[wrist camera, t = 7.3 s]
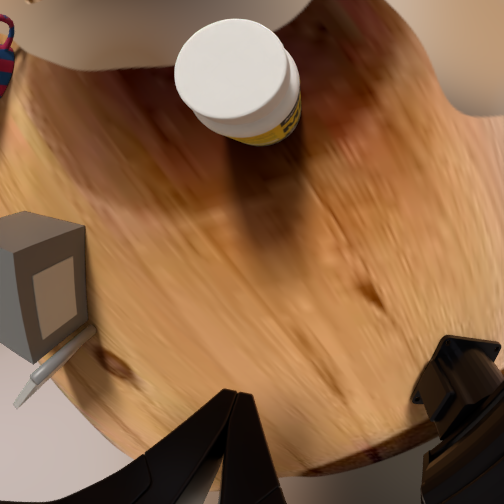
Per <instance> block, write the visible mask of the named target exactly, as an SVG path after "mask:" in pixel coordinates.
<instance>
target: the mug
mask: <svg viewBox="0 0 504 504" xmlns="http://www.w3.org/2000/svg"><path fill="white" fill-rule="evenodd" d="M0 21H2V22H5V23H7V24H8V25H9V28H10V30H9V35H8V38H7V40H6V42H5V43H4V44H3V45H1V44H0V98H1V96H2V95H3V93H4V92H5V90H6V88H7V86H8V83H9V81H10V78H11V75H12V71H13V66H14V52H13V49H12V48H11V47H10V46H11V43H12V41H13V37H14V24H13V21H12V20H11V19H10V18H9V17H7V16H6V15H2V14H0Z"/></svg>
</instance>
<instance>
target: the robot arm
mask: <svg viewBox="0 0 504 504" xmlns="http://www.w3.org/2000/svg"><path fill="white" fill-rule="evenodd" d="M447 341H448V343H446V342H447ZM500 349H501V345H500V343H499V342H496V341H489V340H481V339H474V338H467V337H460V336H453V335H446V336H444V337H443V338H442V339H441V341H440V343H439V345H438V347H437V350H436V352H435V354H434V356H433V358H432V360H431V361H430V362H429V364H428V366H427V368H426V370H425V372H424V374H423V376H422V377H421V379H420V381H419V383H418V385H417V387H416V389H415V391H414V393H413V394H412V396H411V400H412V402H413V403H414V404H424V406H425V408H426V411H427V414H428V417H429V419H430V421H431V422H434V423H435V426H436V429H437V432H438V435H439V437H440V440H443V441H442V442H441V443H440V444H439V445H437V446H436V447H435V448H433V449H432V450H430V451H428V452H427V453H426V454H424V456H423V457H424V458H423V474H422V485H421V504H504V376H503V374H502V373H501V372H500V370H499V369H498V368H497V366H496V365H495V364H494V361H495V359H496V357H497V355H498V353H499V351H500ZM417 397H418V398H417ZM223 456H224V457H223ZM222 459H223V465H222V473H221V482H220V491H219V501H218V504H287V503H286V501H285V498H284V495H283V492H282V489H281V487H280V483H279V480H278V477H277V473H276V470H275V467H274V464H273V461H272V457H271V454H270V451H269V448H268V444H267V441H266V438H265V434H264V431H263V428H262V424H261V421H260V418H259V414H258V411H257V407H256V404H255V400H254V397H253V395H252V394H249V393H244V392H239V393H237V391H234V390H230V389H222V390H221V391H220V392H219V393H218V394H216V395H215V396H214V397H213V398H212V399H211V400H209V401H208V402H207V403H206V404H205V405H204V406H202V407H201V408H200V409H199V410H198V411H196V412H195V413H194V414H193V415H192V416H190V417H189V418H188V419H187V420H185V421H184V422H183V423H182V424H181V425H179V426H178V427H177V428H176V429H174V430H173V431H172V432H171V433H169V434H168V435H167V436H166V437H164V438H163V439H162V440H160V441H159V442H158V443H157V444H155V445H154V446H153V447H151V448H150V449H149V450H147V451H146V452H145V455H144V454H142V455H141V456H139V457H138V458H137V459H135V460H134V461H132V462H131V463H130V464H128V465H127V466H125V467H124V468H122V469H121V470H119V471H117V472H116V473H114V474H112V475H110V476H109V477H106V478H105V479H103V480H101V481H99V482H97V483H95V484H93V485H91V486H89V487H86V488H84V489H82V490H80V491H78V492H76V493H73V494H71V495H69V496H67V497H64V498H61V499H58V500H54V501H50V502H14V501H0V504H203V503H204V501H205V498H206V496H207V494H208V492H209V490H210V487H211V485H212V483H213V481H214V478H215V476H216V474H217V471H218V469H219V467H220V464H221V462H222Z"/></svg>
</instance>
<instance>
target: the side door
mask: <svg viewBox="0 0 504 504" xmlns="http://www.w3.org/2000/svg"><path fill="white" fill-rule="evenodd" d="M95 333H96V329H95V327H94V326H93V325H89V326H87V327H86V328H85V329H84V330H83V331H81V332H80V333H79V334H78V335H77V336H75V337H74V338H73V339H72V340H71V341H69V342H68V343H67V344H66V345H65V346H63V347H62V348H61V349H60V350H59V351H57V352H56V353H55V354H54V355H53V356H52V357H50V358H49V359H48V360H47V361H46V362H45V363H43V364H42V365H41V366H40V367H39V368H38V369H36V370H35V371H34V372H33V373H32V374H31V375H30V380H29V381H28V382H27V384H26V386H25V387H24V388H23V390H22V391H21V393H20V394H19V396H18V397H17V399H16V400H15V402H14V403H13V405H14V406H15V408H16V409H18V408H19V407H20V406H21V405H22V404H23V403H24V402H25V401H26V400H27V399H28V398H29V397H30V396H31V395H32V394H34V393H35V392H36V391H37V390H38V389H39V388H40V387H41V386H42V385H43V384H44V383H45V382H46V381H47V380H48V379H49V378H51V377H52V376H53V375H54V374H55V373H56V372H57V371H58V370H59V369H60V368H61V367H62V366H63V365H64V364H65V363H66V362H67V361H68V360H69V359H70V358H71V357H72V356H73V354H74V353H75V352H76V351H77V350H78V349H79V348H80V347H81V346H82V345H83V344H84V343H85V342H86V341H87V340H89V339H90V338H91V337H92V336H93V335H94V334H95Z"/></svg>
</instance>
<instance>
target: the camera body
mask: <svg viewBox="0 0 504 504" xmlns="http://www.w3.org/2000/svg"><path fill="white" fill-rule="evenodd" d="M86 321H88V311H87V298H86V280H85V226H84V225H80V224H76V223H72V222H68V221H63V220H59V219H55V218H51V217H47V216H43V215H39V214H35V213H31V212H26V211H22V212H19V213H15V214H12V215H8V216H5V217H1V218H0V343H2V344H3V345H5V346H6V347H7V348H9V349H10V350H12V351H13V352H15V353H16V354H18V355H19V356H21V357H22V358H24V359H26V360H27V361H29V362H30V363H32V364H35V363H36V362H37V361H38V360H40V359H41V358H42V357H43V356H44V355H46V354H47V353H48V352H49V351H50V350H52V349H53V348H54V347H55V346H56V345H58V344H59V343H60V342H61V341H63V340H64V339H65V338H66V337H68V336H69V335H70V334H71V333H72V332H74V331H75V330H76V329H77V328H79V327H80V326H81V325H82V324H84V323H85V322H86Z"/></svg>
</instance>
